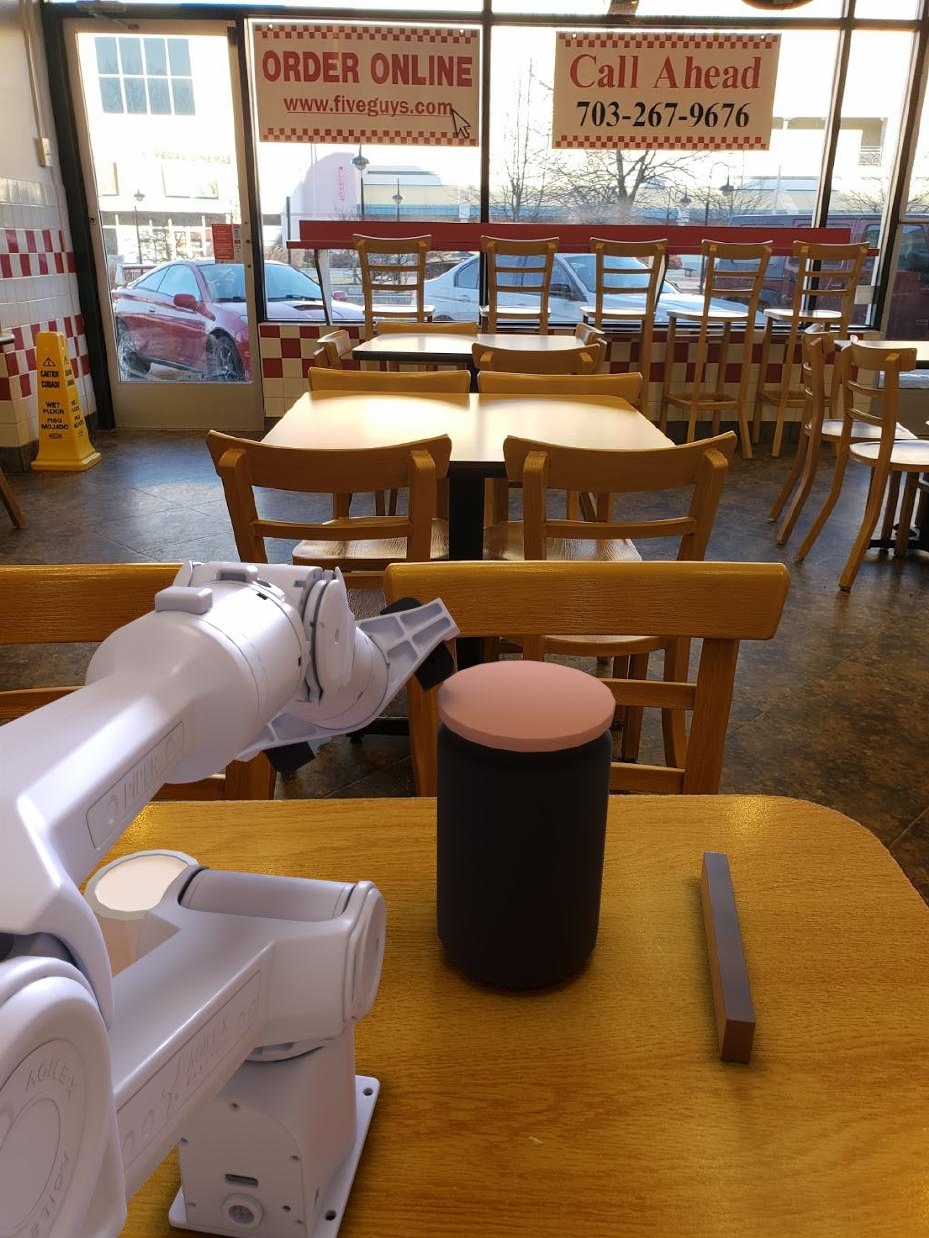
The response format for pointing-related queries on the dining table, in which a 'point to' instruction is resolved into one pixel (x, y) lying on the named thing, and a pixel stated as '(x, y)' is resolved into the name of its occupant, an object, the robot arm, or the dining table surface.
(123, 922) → the white cup
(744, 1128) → the dining table surface
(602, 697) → the coffee jar
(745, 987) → the bar
